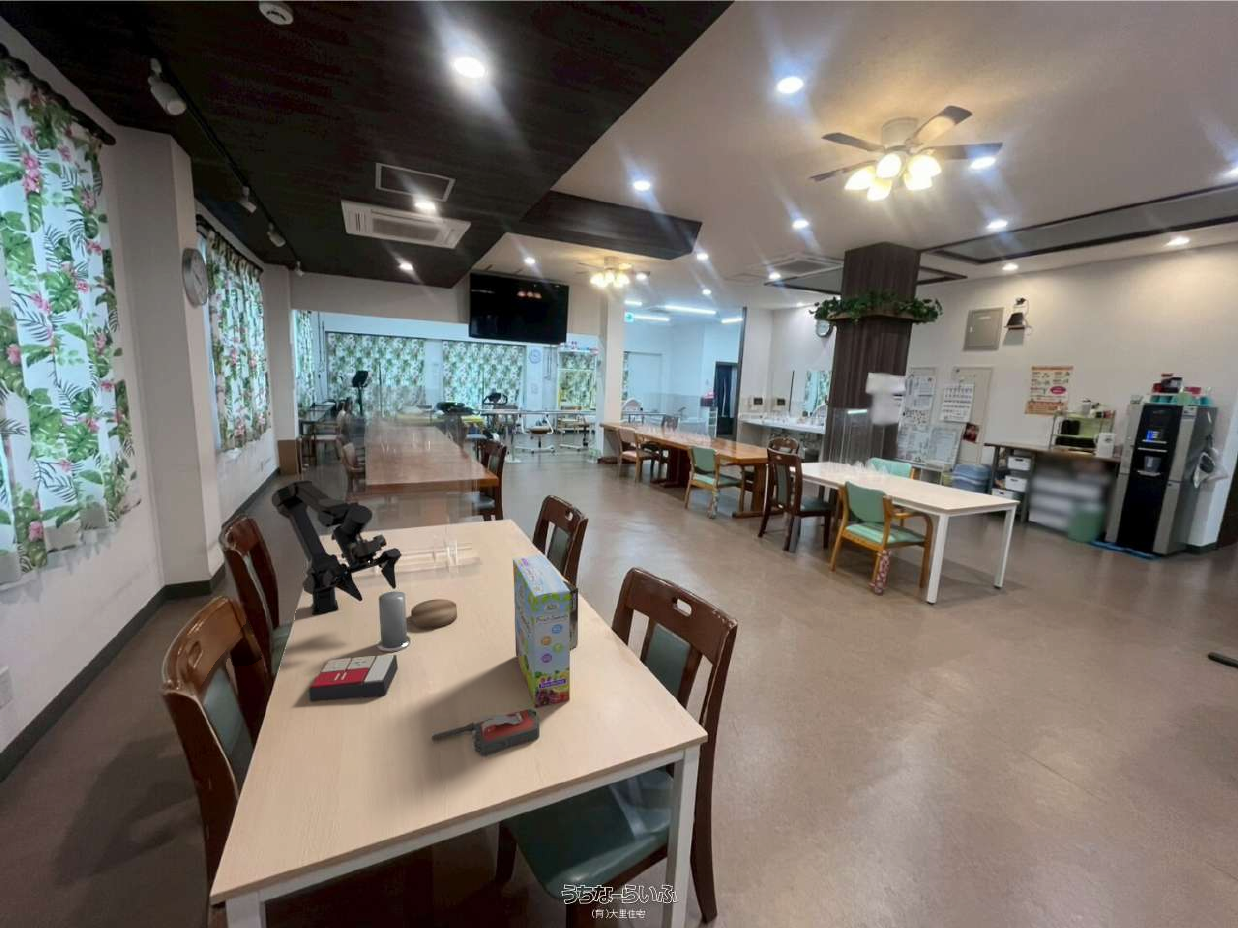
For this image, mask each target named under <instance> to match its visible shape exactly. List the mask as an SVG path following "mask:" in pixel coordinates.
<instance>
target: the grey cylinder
mask: <svg viewBox="0 0 1238 928" xmlns="http://www.w3.org/2000/svg"><path fill="white" fill-rule="evenodd" d="M378 606H379V607H378V608H379V625H380V628H379V629H380V641H379V642H378V643H377V649H378V650H379V651H380V652H382V653H396V652H399V651H403V650H405V649H406V648H408V647H409V646H410V645H411V641H412V640H411V638H410V636H408V631H407V612H406V611H407V609H406V608H407V606H406V593H404V592H403V591H389V592H385V593H382V594H381V595H380V596H379V597H378Z"/></svg>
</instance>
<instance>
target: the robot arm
mask: <svg viewBox="0 0 1238 928" xmlns="http://www.w3.org/2000/svg"><path fill="white" fill-rule="evenodd" d="M270 499H271V503H272V506H273V507H275V509H276V511H277V512H278V514H279V515H281V516H282V517H284V518H286V519H288V521H289V523H290V525H291V527H292V530H293V531H294V533H295V535H296V537H297V540H298V542H299V544H300V546H301V548H302V550H303V552H304V555H305V557H306V559H307V561H308V564H307V568H306V572H305V573H306V578H305V579H304V580H303V582H302V587H303V591H304V592H306V593H308V594H310V595H312V604H311V614H312V615H318V614H323V613H327V612H333V611H338V610H339V604H338V600H337V599H336V588H337V589H338V590H340V591H343V592H345V593H346V594H348V595H349V596H351V597H353V598H354V599H355V600H357V601H358V602H362V601H363V597H362V594H361V591H359V588H358V587H357V585H356V583H355V581H354V580H353V575H352V574H354V573H359V572H362V571H365V570H368V569H370V568H374V567H377V566H378V568H380V569H381V571H380V572H381V574H382V576H383V577H384V579H385V580H386V582H387V583H388V585H389V586H390V587H391V588H392V589H393V590H395V589H396V588H397V583H396V574H395V566H396V565H397V562H398V561H399V560H400V559H401V557H402V556H403V555H402V553H401V551H400V550H399V548H396V547H394V548H390V549H387V550H384V551H383V549H382V548H383V547H386V546H387V540H386V538H385V537H384V535H383V534H379V535H376V536H374V537H373V538H372V540H368V539H367V538H365V539H363V537H362V533H363V532H364V531H365V529H366V528H367V527H368V525H369V523H370V521H372V519H373V512H372V510H371V509H370V508H368V507H367V506H365V505H363V504H359V502H358V501H354V502H349V503H348V502H346V501H344V500H342V499H337V498H336V499H335V498H331V496H328V495H327V494H325V493H324V492H323V491H322V490H320V489H319V488H318V487H317V486H315V485H314V484H313V482H312V480H310V479H309V480H308V479H302V480H296V481H292V482H290V483H289V484H288V485H286V486H284V487H282V488H280V489H277V490H275V491H274V493H273V494H272V495H271V497H270ZM308 506H309V507H310V508H311V509H312V510H313V511H315V512H316V513H317V521H318V522H319V523H320V524H321V525H322V526H323V527H325V528H332V527H335V529H332V534H331V537H330V538H331V541H336V543H337V545H338V548H340V551H341V554H340V556H341V559H345V561H346V562H347V563H344V562H343V563H341V562H340V561H339V559H338V555H336V554H334V553H332V554H329V553H328V552H327V551H326V549H325V546H324V545H323V543H322V540H321V539H320V537H319V534H318V533H317V530H316V528H315V526H314V524H313V522H312V520H311V518H310V516H309V514H308ZM381 551H382V553H381V555H380V556H378V557H376V556H377V554H378V553H377V552H381ZM374 557H376V558H374ZM347 564H348V565H347Z"/></svg>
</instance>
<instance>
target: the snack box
mask: <svg viewBox="0 0 1238 928" xmlns="http://www.w3.org/2000/svg"><path fill="white" fill-rule="evenodd" d="M550 562H551V561H549V560H548V558H547V557H546V555H545V554H542V555H535V556H525V557H517V558H512V570H513V571H512V572H513V573H512V574H513V596H514V598H513V599H514V600H513V601H514V632H515V633H514V634H515V635H514V636H515V642H514V643H515V644H514V645H515V656H516V659H517V661H518V665H519V667H520V669H521V672H522V675H523V677H524V680H525V683H526V685H527V688H528V691H529V693H530V696H531V698H532V701H533V704H534V708H537V707H538V708H539V707H544V706H547V705H552V704H556V703H560V702H565V701H569V700H571V698H570V697H571V693H570V692H571V691H570V688H571V687H570V684H571V682H570V681H571V680H570V679H571V676H570V674H571V673H570V671H571V670H570V669H571V666H570V665H571V657H570V656H571V649H570V590H569V589H568V588H567V586H566V585H565V583H564V582H563V580H562V578H561V576H560V575H559V574H558V572H557V571H556V570H555V568H554V566H553V565H552V564H551V563H550Z"/></svg>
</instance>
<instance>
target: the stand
mask: <svg viewBox="0 0 1238 928" xmlns="http://www.w3.org/2000/svg"><path fill="white" fill-rule="evenodd" d="M457 612H458V607H457V604H456V602H454V601H452V600H449V599H443V598H442V599H441V598H438V599H430V600H426V601H422V602H420V603H418V604H416V605H414V606H413V608H412V607H411V611H410V616H411V624H412V625H413V627H415V628H418V629H421V630H435V629H441V628H444V627H447V626H450V625H451V624H452V623H454V622H455V621H456V619H457V617H458V613H457Z"/></svg>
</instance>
